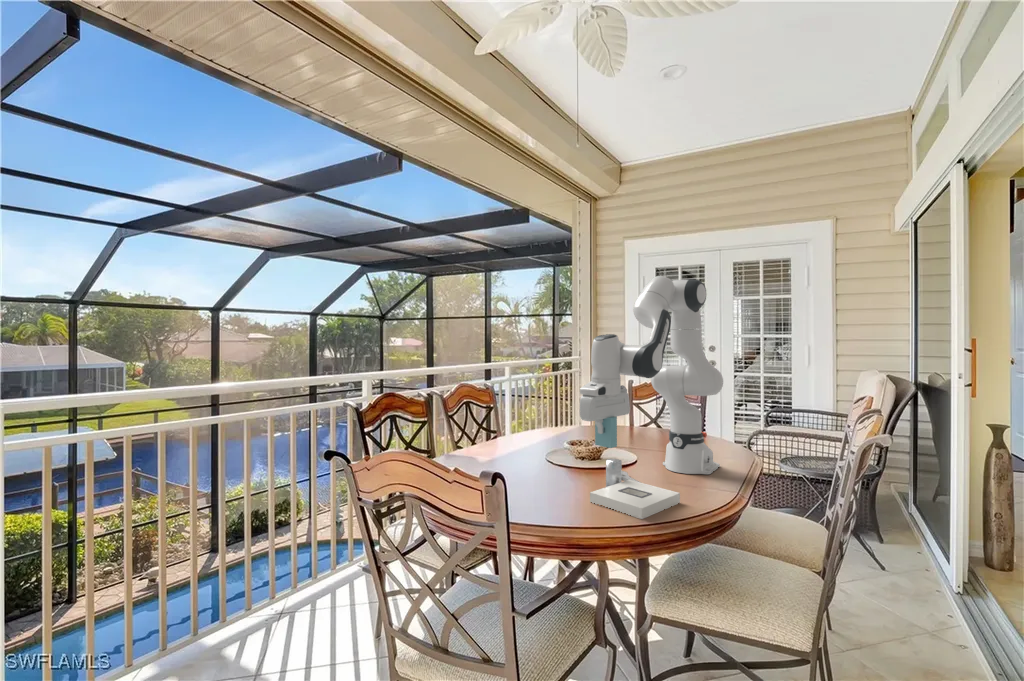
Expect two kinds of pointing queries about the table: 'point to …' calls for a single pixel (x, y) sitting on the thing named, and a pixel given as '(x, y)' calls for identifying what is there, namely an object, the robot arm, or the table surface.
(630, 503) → the socket plate
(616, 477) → the round peg
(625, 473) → the adjustable wrench
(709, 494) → the table surface
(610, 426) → the flat bar
